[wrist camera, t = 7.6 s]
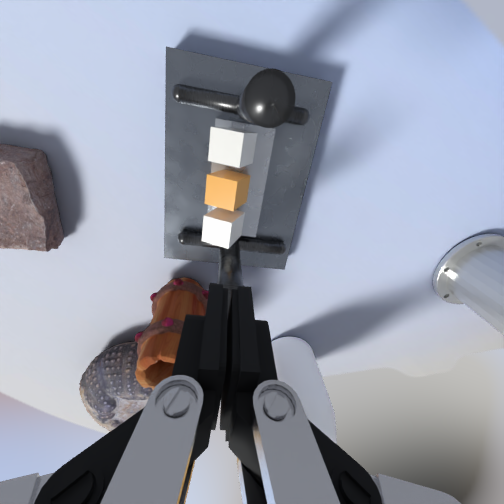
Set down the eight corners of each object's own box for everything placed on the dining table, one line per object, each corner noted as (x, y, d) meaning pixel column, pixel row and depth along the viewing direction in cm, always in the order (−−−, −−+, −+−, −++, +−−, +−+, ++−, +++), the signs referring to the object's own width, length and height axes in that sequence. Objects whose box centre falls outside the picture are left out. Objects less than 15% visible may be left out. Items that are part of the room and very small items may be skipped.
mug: (152, 268, 37) (110, 354, 24) (210, 266, 38) (201, 349, 24) (166, 342, 44) (140, 441, 31) (215, 339, 44) (210, 435, 31)
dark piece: (324, 84, 28) (457, 44, 12) (281, 260, 38) (320, 370, 22) (171, 52, 26) (73, -53, 9) (168, 248, 36) (118, 362, 19)
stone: (-39, 137, 28) (-85, 141, 24) (52, 145, 29) (24, 151, 25) (-1, 237, 33) (-33, 254, 29) (74, 241, 34) (54, 258, 30)
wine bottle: (308, 368, 50) (397, 654, 24) (258, 371, 49) (295, 670, 23) (314, 332, 46) (433, 634, 19) (260, 335, 45) (307, 653, 18)
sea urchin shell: (66, 346, 42) (37, 404, 33) (182, 311, 45) (183, 355, 36) (114, 414, 50) (101, 474, 42) (209, 381, 53) (215, 430, 44)
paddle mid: (250, 175, 27) (237, 181, 23) (246, 201, 28) (233, 211, 24) (223, 169, 27) (206, 174, 24) (221, 195, 29) (204, 203, 25)
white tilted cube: (257, 133, 25) (243, 133, 21) (252, 163, 26) (239, 167, 23) (228, 127, 25) (210, 126, 22) (225, 157, 27) (207, 160, 23)
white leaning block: (244, 212, 29) (231, 223, 25) (241, 235, 30) (228, 248, 26) (219, 205, 29) (203, 215, 26) (217, 228, 30) (201, 240, 27)
